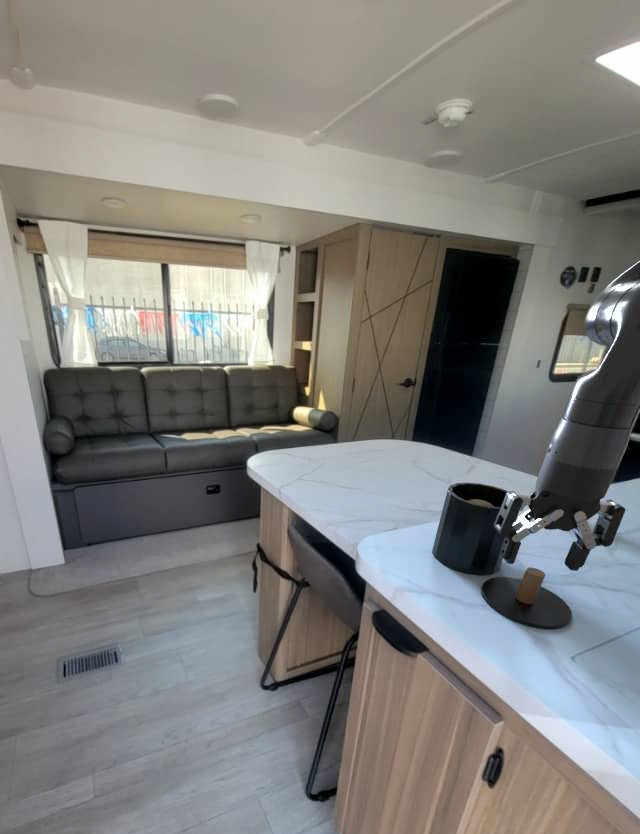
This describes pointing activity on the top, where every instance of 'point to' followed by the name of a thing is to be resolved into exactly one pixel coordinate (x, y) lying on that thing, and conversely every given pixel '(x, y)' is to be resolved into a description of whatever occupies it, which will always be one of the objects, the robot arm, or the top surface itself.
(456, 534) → the canister
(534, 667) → the top surface
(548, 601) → the lid
